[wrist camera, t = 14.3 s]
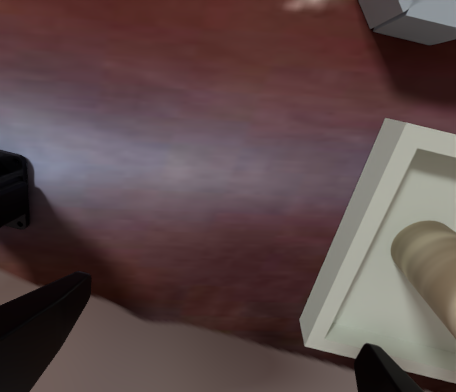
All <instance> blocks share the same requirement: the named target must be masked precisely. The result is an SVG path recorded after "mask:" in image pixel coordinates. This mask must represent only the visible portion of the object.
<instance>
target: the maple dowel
mask: <svg viewBox="0 0 456 392" xmlns="http://www.w3.org/2000/svg"><path fill="white" fill-rule="evenodd" d="M391 257H392V259H393V261H394V262H395V264H396V265H397V266H398V267H399V269H400V270H401V271H402V272H403V274H404V275H405V276H406V277H407V279H408V280H409V281H410V282H411V284H412V285H413V286H414V287H415V289H416V290H417V291H418V293H419V294H420V295H421V296H422V298H423V299H424V300H425V301H426V303H427V304H428V305H429V306H430V308H431V309H432V310H433V311H434V313H435V314H436V315H437V316H438V318H439V319H440V320H441V321H442V323H443V324H444V325H445V326H446V328H447V329H448V330H449V331H450V333H451V334H452V335H453V336H454V338H455V339H456V232H455V231H453V230H452V229H451V228H449V227H448V226H446V225H445V224H443V223H441V222H437V221H430V220H428V221H420V222H416V223H413V224H411V225H409V226H407V227H405V228H404V229H403V230H401V231H400V232H399V233H398V234H397V235H396V237H395V238H394V240H393V242H392V245H391Z"/></svg>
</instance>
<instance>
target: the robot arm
mask: <svg viewBox="0 0 456 392" xmlns="http://www.w3.org/2000/svg"><path fill="white" fill-rule="evenodd" d="M17 160H18V161H19V163H18V162H17ZM21 222H22V223H23V224H22V223H21ZM4 225H5V226H9V227H13V228H17V229H25V228H27V227H28V226H29V204H28V184H27V164H26V159H25V158H24V157H23V156H22V155H19V154H15V153H11V152H7V151H3V150H0V227H2V226H4ZM90 294H91V275H90V274H89V273H85V272H80V271H77V272H74V273H72V274H70V275H68V276H65V277H63V278H61V279H59V280H56V281H54V282H52V283H50V284H47V285H45V286H43V287H41V288H38V289H36V290H34V291H32V292H29V293H27V294H25V295H23V296H20V297H18V298H16V299H14V300H11V301H9V302H7V303H5V304H2V305H0V392H30V390H31V389H32V387H33V386H34V385H35V383H36V382H37V380H38V379H39V377H40V376H41V375H42V373H43V372H44V371H45V369H46V368H47V366H48V365H49V364H50V362H51V361H52V360H53V358H54V357H55V355H56V354H57V353H58V351H59V350H60V348H61V347H62V345H63V343H64V342H65V340H66V338H67V337H68V335H69V333H70V332H71V330H72V328H73V326H74V325H75V323H76V321H77V320H78V318H79V316H80V314H81V313H82V311H83V309H84V308H85V306H86V304H87V302H88V300H89V298H90ZM354 369H355V376H356V382H357V388H358V392H424V391H423V390H422V389H421V388H420V387H419V386H418V385H417V384H416V383H415V382H414V381H413V380H412V379H411V378H410V377H409V376H408V375H407V374H406V372H405V371H404V370H403V369H402V368H401V367H400V366H399V365H398V364H397V363H396V362H395V361H394V360H393V359H392V358H391V357H390V356H389V355H388V354H387V353H386V352H385V351H384V350H383V349H382V348H381V347H380V346H378V345H375V344H371V343H365V344H364V345H363V347H362V348H361V350H360V352H359V354H358V355H357V357H356V359H355V362H354Z"/></svg>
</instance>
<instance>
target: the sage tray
mask: <svg viewBox="0 0 456 392" xmlns="http://www.w3.org/2000/svg"><path fill="white" fill-rule="evenodd" d="M428 220H430V221H437V222H441V223H443V224H445V225H446V226H448V227H449V228H451V229H452V230H453V231H455V232H456V135H455V134H451V133H447V132H443V131H439V130H434V129H430V128H426V127H422V126H418V125H414V124H410V123H406V122H401V121H397V120H392V119H388V118H385V120H384V122H383V125H382V127H381V129H380V132H379V134H378V136H377V139H376V141H375V143H374V146H373V148H372V150H371V153H370V155H369V157H368V160H367V162H366V164H365V167H364V169H363V171H362V174H361V176H360V179H359V181H358V183H357V186H356V188H355V190H354V193H353V195H352V197H351V200H350V202H349V204H348V207H347V209H346V211H345V214H344V216H343V218H342V221H341V223H340V226H339V228H338V230H337V233H336V235H335V237H334V240H333V242H332V244H331V247H330V249H329V251H328V254H327V256H326V258H325V261H324V263H323V265H322V268H321V270H320V272H319V275H318V277H317V280H316V282H315V284H314V287H313V289H312V291H311V294H310V296H309V298H308V301H307V303H306V305H305V308H304V310H303V312H302V315H301V317H300V319H299V320H300V325H301V330H302V335H303V340H304V346H306V347H310V348H314V349H318V350H322V351H326V352H330V353H334V354H338V355H342V356H346V357H350V358H354V359H356V357H357V355H358V354H359V352H360V350H361V348H362V347H363V345H364V344H365V343H371V344H375V345H378V346H380V347H381V348H382V349H383V350H384V351H385V352H386V353H387V354H388V355H389V356H390V357H391V358H392V359H393V360H394V361H395V362H396V363H397V364H398V365H399V366H400V367H401V368H402V369H403V370H404V371H407V372H411V373H415V374H419V375H423V376H427V377H431V378H435V379H439V380H443V381H447V382H452V383H456V339H455V338H454V336H453V335H452V334H451V333H450V331H449V330H448V329H447V328H446V326H445V325H444V324H443V323H442V321H441V320H440V319H439V318H438V316H437V315H436V314H435V313H434V311H433V310H432V309H431V308H430V306H429V305H428V304H427V303H426V301H425V300H424V299H423V298H422V296H421V295H420V294H419V293H418V291H417V290H416V289H415V287H414V286H413V285H412V284H411V282H410V281H409V280H408V279H407V277H406V276H405V275H404V274H403V272H402V271H401V270H400V269H399V267H398V266H397V265H396V264H395V262H394V261H393V259H392V257H391V245H392V242H393V240H394V238H395V237H396V235H397V234H398V233H399V232H400V231H401V230H403V229H404V228H405V227H407V226H409V225H411V224H413V223H416V222H420V221H428Z"/></svg>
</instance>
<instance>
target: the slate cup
mask: <svg viewBox="0 0 456 392" xmlns="http://www.w3.org/2000/svg"><path fill="white" fill-rule="evenodd" d="M358 1H359V4H360V6H361V8H362V11H363V13H364V16H365V18H366V20H367V23H368V25H369V28H370V29H372V28H374V30H373V32H376V33H380V34H385V35H389V36H393V37H397V38H401V39H405V40H409V41H413V42H417V43H422V44H426V45H434V44H439V43H443V42H447V41H451V40H455V39H456V0H358Z"/></svg>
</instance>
